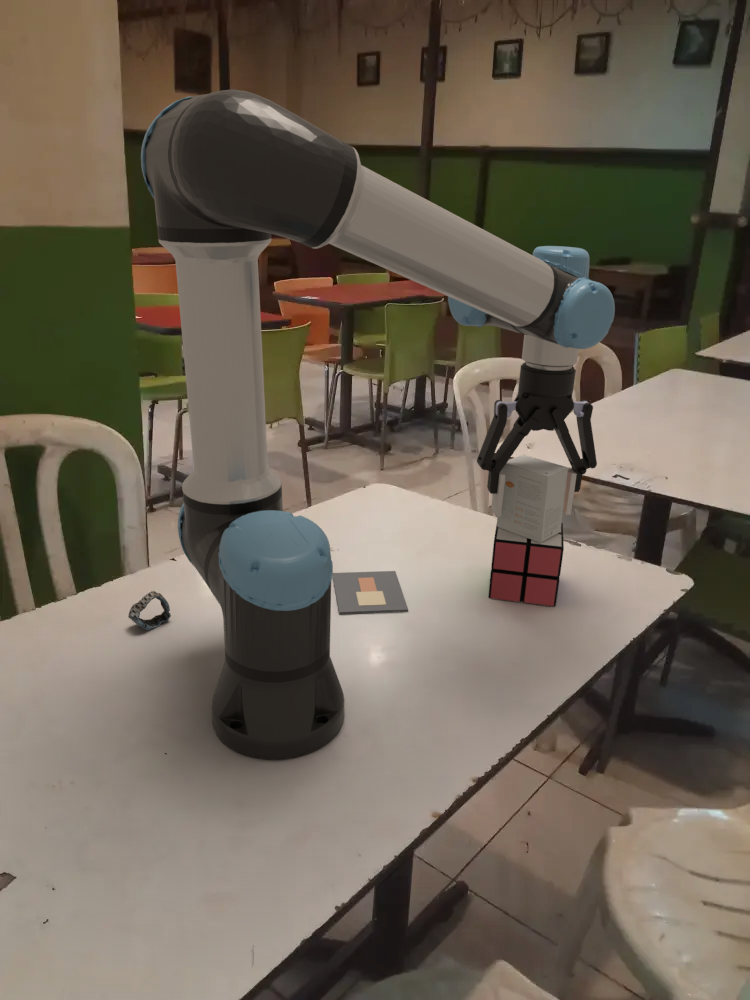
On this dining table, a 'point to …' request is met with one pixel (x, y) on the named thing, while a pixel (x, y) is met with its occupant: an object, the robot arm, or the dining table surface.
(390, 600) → the card
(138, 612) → the wristwatch
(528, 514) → the small box
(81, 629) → the dining table surface
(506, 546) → the puzzle cube
